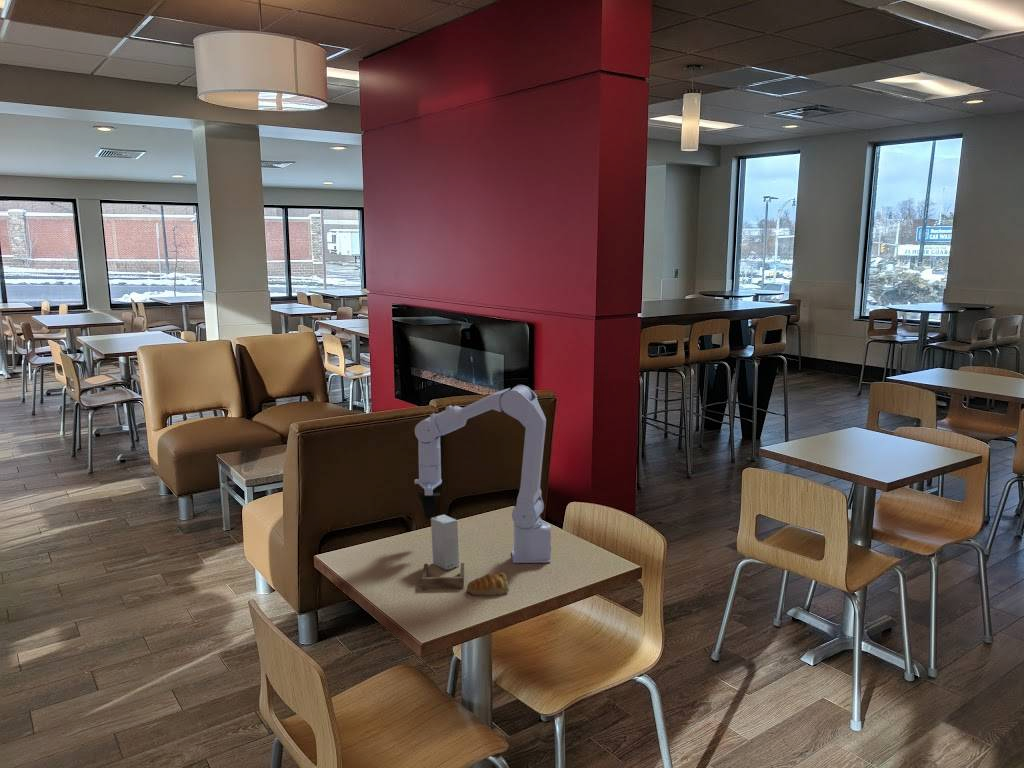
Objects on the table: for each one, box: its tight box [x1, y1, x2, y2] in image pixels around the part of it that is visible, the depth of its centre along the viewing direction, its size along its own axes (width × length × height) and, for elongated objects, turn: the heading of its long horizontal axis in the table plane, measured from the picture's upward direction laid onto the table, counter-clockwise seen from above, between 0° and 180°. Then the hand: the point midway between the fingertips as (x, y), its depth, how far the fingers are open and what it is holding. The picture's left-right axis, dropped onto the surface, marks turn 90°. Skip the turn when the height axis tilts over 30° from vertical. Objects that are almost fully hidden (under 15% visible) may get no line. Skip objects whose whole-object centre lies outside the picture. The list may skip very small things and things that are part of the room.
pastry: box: [466, 571, 510, 596], centre depth 171 cm, size 9×7×4 cm
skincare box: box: [430, 514, 460, 571], centre depth 185 cm, size 6×4×12 cm
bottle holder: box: [421, 562, 465, 590], centre depth 176 cm, size 10×9×2 cm
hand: (430, 513), depth 196 cm, fingers open, 7 cm apart
